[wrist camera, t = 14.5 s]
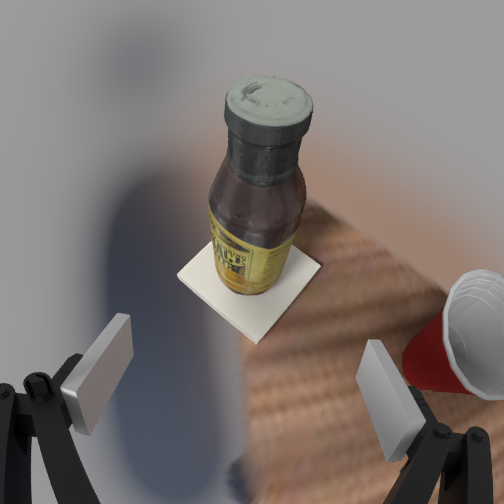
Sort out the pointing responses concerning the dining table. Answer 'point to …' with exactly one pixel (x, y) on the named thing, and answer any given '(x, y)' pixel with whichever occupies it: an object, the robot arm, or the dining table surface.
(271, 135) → the sauce bottle
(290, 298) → the cream pad
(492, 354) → the plastic cup
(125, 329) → the robot arm
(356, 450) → the dining table surface
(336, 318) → the dining table surface
